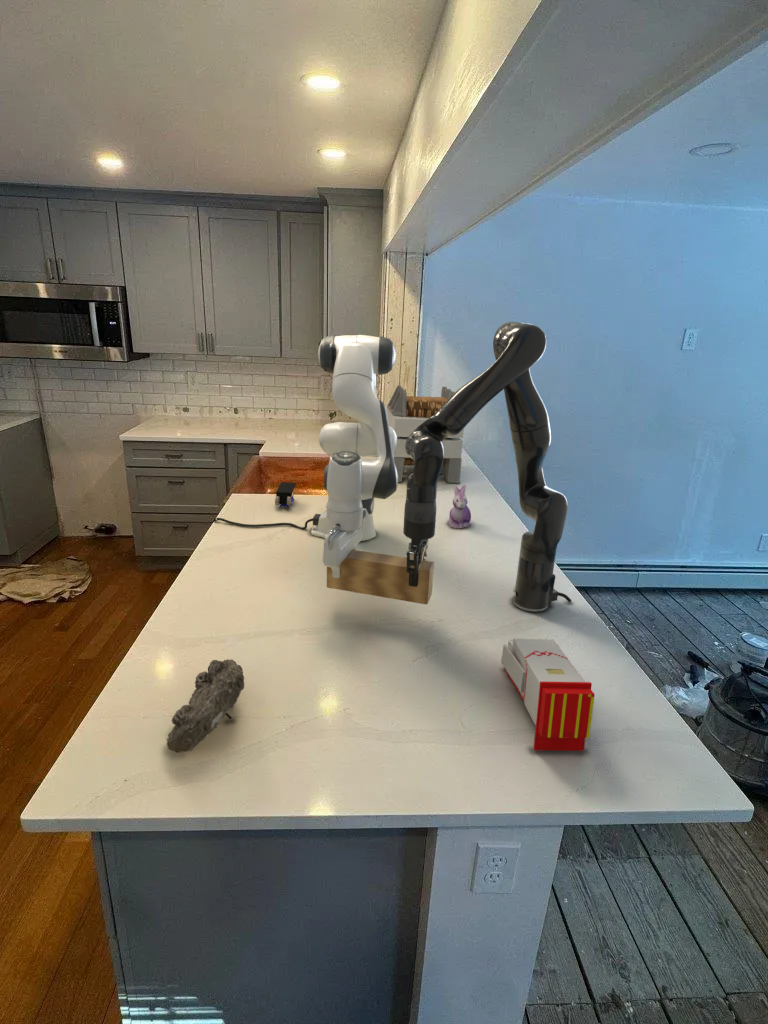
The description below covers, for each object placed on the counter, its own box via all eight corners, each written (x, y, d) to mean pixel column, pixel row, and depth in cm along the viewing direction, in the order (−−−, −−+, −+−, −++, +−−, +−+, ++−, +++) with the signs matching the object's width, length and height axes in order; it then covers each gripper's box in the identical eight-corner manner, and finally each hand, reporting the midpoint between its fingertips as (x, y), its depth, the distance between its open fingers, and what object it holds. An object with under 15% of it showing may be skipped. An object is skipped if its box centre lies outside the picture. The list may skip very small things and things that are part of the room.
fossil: (192, 660, 117) (244, 628, 112) (224, 691, 120) (276, 661, 115) (142, 746, 98) (202, 712, 93) (182, 779, 101) (242, 748, 96)
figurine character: (292, 514, 217) (296, 498, 230) (291, 496, 214) (296, 480, 227) (274, 514, 217) (280, 497, 230) (273, 496, 213) (279, 480, 227)
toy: (549, 621, 128) (604, 690, 99) (544, 676, 131) (595, 758, 101) (496, 620, 128) (535, 688, 98) (492, 675, 130) (528, 757, 101)
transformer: (382, 463, 289) (386, 382, 275) (445, 464, 293) (451, 384, 279) (390, 482, 257) (394, 392, 243) (460, 483, 261) (468, 394, 247)
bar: (326, 587, 144) (326, 554, 141) (334, 578, 149) (334, 546, 146) (427, 604, 138) (429, 570, 135) (431, 594, 143) (434, 561, 140)
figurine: (456, 530, 205) (460, 491, 199) (441, 521, 213) (444, 483, 208) (477, 527, 209) (481, 488, 204) (461, 518, 217) (465, 480, 212)
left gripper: (341, 534, 129) (340, 588, 134) (368, 507, 148) (367, 555, 153) (316, 530, 131) (316, 584, 136) (345, 504, 150) (344, 552, 154)
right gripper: (429, 529, 127) (424, 596, 132) (441, 508, 140) (436, 571, 145) (396, 524, 128) (393, 591, 134) (411, 505, 141) (408, 566, 147)
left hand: (343, 569), depth 144 cm, fingers open, 8 cm apart
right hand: (416, 580), depth 140 cm, fingers closed on bar, 5 cm apart
